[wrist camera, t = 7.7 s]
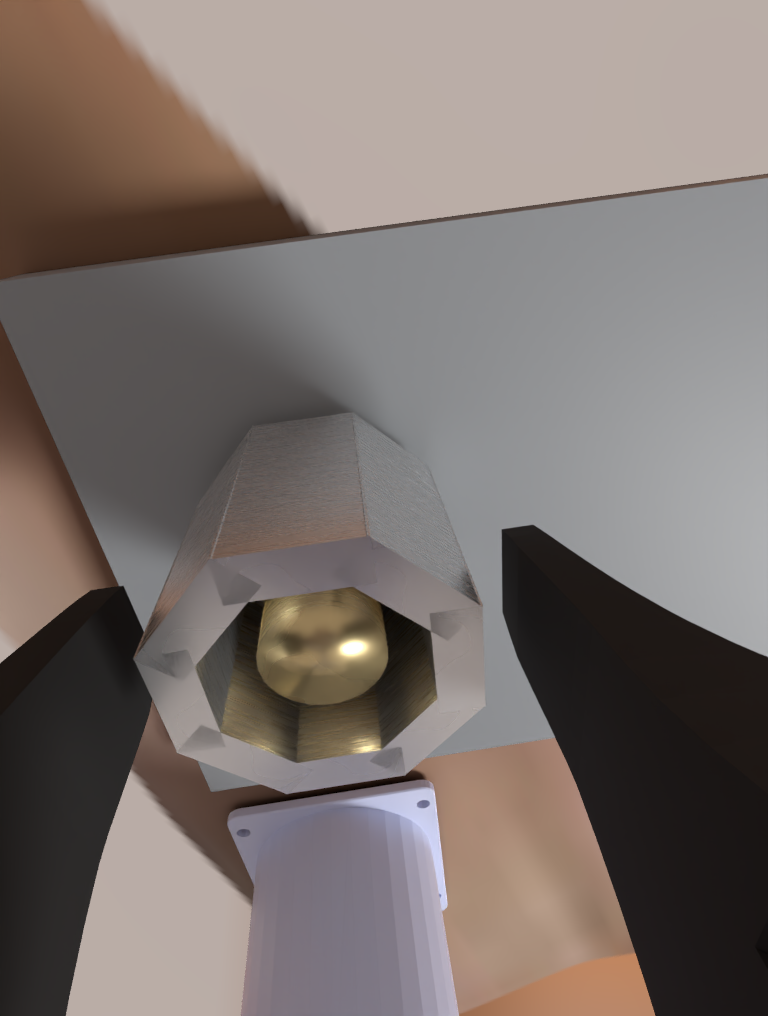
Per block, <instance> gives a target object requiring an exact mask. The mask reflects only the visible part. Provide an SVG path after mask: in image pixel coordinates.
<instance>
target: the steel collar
mask: <svg viewBox="0 0 768 1016" xmlns="http://www.w3.org/2000/svg"><path fill="white" fill-rule="evenodd" d="M347 587H354V588H356V589H358V590H359V591H361V592H363V593H365V594H366V595H368V596H370V597H372V598H373V599H375V600H377V601H379V602H380V603H382V610H383V618H384V625H385V632H386V639H387V646H388V662H387V665H386V668H385V670H384V672H383V674H382V676H381V677H380V679H379V680H378V681H377V682H376V683H375V684H374V685H373V686H372V687H371V688H370V689H369V690H367V691H366V692H364V693H363V694H361V695H359V696H357V697H355V698H352V699H350V700H347V701H344V702H340V703H335V704H327V705H313V704H305V703H300V702H296V701H293V700H290V699H288V698H285V697H283V696H281V695H280V694H278V693H277V692H275V691H274V690H273V689H271V688H270V687H269V686H268V685H267V684H266V683H265V681H264V680H263V678H262V677H261V675H260V673H259V671H258V667H257V663H256V654H257V647H258V640H259V634H260V627H261V620H262V614H263V607H264V601H265V600H266V599H273V598H280V597H287V596H293V595H300V594H307V593H313V592H320V591H327V590H334V589H340V588H347ZM133 660H134V661H135V663H136V665H137V667H138V669H139V671H140V673H141V676H142V678H143V680H144V682H145V684H146V686H147V688H148V691H149V693H150V695H151V697H152V699H153V701H154V703H155V706H156V708H157V710H158V712H159V714H160V716H161V718H162V721H163V723H164V725H165V727H166V729H167V731H168V733H169V736H170V738H171V740H172V742H173V744H174V746H175V748H176V751H177V752H176V753H178V754H181V755H184V756H187V757H189V758H192V759H195V760H197V761H200V762H203V763H205V764H208V765H211V766H213V767H216V768H219V769H222V770H224V771H227V772H230V773H232V774H235V775H238V776H240V777H243V778H246V779H248V780H251V781H254V782H256V783H259V784H262V785H264V786H267V787H270V788H272V789H275V790H278V791H280V792H283V793H285V794H290V793H296V792H303V791H309V790H315V789H322V788H328V787H334V786H341V785H347V784H353V783H360V782H366V781H372V780H379V779H385V778H391V777H398V776H405V775H406V774H407V773H408V772H409V771H410V770H412V769H413V768H414V767H415V766H416V765H417V764H419V763H420V762H421V761H422V760H423V759H424V758H425V757H427V756H428V755H429V754H430V753H431V752H432V751H433V750H435V749H436V748H437V747H438V746H439V745H440V744H442V743H443V742H444V741H445V740H446V739H447V738H448V737H450V736H451V735H452V734H453V733H454V732H455V731H457V730H458V729H459V728H460V727H461V726H462V725H463V724H465V723H466V722H467V721H468V720H469V719H470V718H472V717H473V716H474V715H475V714H476V713H477V712H478V711H480V710H481V709H482V708H483V707H484V706H486V701H485V672H484V639H483V604H482V602H481V599H480V597H479V594H478V592H477V589H476V586H475V584H474V581H473V579H472V576H471V574H470V571H469V568H468V566H467V563H466V561H465V558H464V556H463V553H462V550H461V548H460V545H459V543H458V540H457V537H456V535H455V532H454V530H453V527H452V525H451V522H450V519H449V517H448V514H447V512H446V509H445V507H444V504H443V501H442V499H441V496H440V494H439V491H438V489H437V486H436V483H435V481H434V478H433V476H432V473H431V471H430V468H429V466H428V465H426V464H425V463H424V462H422V461H421V460H419V459H418V458H417V457H415V456H414V455H412V454H411V453H410V452H408V451H407V450H405V449H404V448H403V447H401V446H400V445H398V444H397V443H396V442H394V441H393V440H391V439H390V438H389V437H387V436H386V435H384V434H383V433H382V432H380V431H379V430H377V429H376V428H375V427H373V426H372V425H370V424H369V423H368V422H366V421H365V420H363V419H362V418H361V417H359V416H358V415H356V414H355V413H354V412H352V411H351V412H348V413H341V414H334V415H326V416H319V417H312V418H305V419H298V420H291V421H284V422H277V423H270V424H262V425H255V426H254V425H253V426H251V428H250V430H249V431H248V433H247V434H246V435H245V437H244V438H243V440H242V441H241V443H240V444H239V445H238V447H237V448H236V450H235V451H234V452H233V454H232V455H231V457H230V458H229V459H228V461H227V462H226V464H225V465H224V466H223V468H222V469H221V471H220V472H219V474H218V475H217V476H216V478H215V479H214V481H213V482H212V483H211V485H210V486H209V488H208V489H207V490H206V492H205V493H204V495H203V496H202V497H201V498H200V500H199V502H198V505H197V507H196V510H195V512H194V514H193V517H192V519H191V522H190V524H189V526H188V529H187V531H186V533H185V536H184V538H183V541H182V543H181V545H180V548H179V550H178V553H177V555H176V557H175V560H174V562H173V564H172V567H171V569H170V572H169V574H168V576H167V579H166V581H165V584H164V586H163V588H162V591H161V593H160V595H159V598H158V600H157V603H156V605H155V607H154V610H153V612H152V615H151V617H150V619H149V622H148V624H147V627H146V629H145V631H144V634H143V636H142V638H141V641H140V643H139V646H138V648H137V650H136V653H135V655H134V659H133Z"/></svg>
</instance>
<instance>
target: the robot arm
mask: <svg viewBox="0 0 768 1016" xmlns="http://www.w3.org/2000/svg"><path fill="white" fill-rule="evenodd" d="M502 612H503V615H504V619H505V622H506V625H507V628H508V631H509V634H510V637H511V640H512V643H513V646H514V649H515V652H516V655H517V658H518V660H519V662H520V664H521V667H522V669H523V671H524V673H525V675H526V677H527V679H528V681H529V684H530V686H531V688H532V690H533V692H534V694H535V696H536V698H537V700H538V703H539V705H540V707H541V709H542V711H543V713H544V715H545V717H546V719H547V721H548V723H549V726H550V728H551V730H552V732H553V734H554V736H555V738H556V740H557V742H558V744H559V746H560V749H561V751H562V753H563V755H564V757H565V759H566V761H567V763H568V766H569V768H570V770H571V773H572V775H573V777H574V780H575V782H576V784H577V787H578V789H579V792H580V795H581V798H582V800H583V803H584V806H585V809H586V811H587V814H588V817H589V820H590V822H591V825H592V828H593V830H594V833H595V836H596V839H597V841H598V844H599V847H600V850H601V853H602V856H603V859H604V862H605V864H606V867H607V870H608V873H609V876H610V879H611V882H612V884H613V887H614V890H615V893H616V896H617V899H618V902H619V905H620V908H621V911H622V914H623V917H624V920H625V923H626V926H627V929H628V932H629V935H630V938H631V941H632V944H633V947H634V950H635V953H636V956H637V959H638V962H639V965H640V968H641V971H642V974H643V977H644V980H645V983H646V987H647V990H648V993H649V996H650V999H651V1002H652V1006H653V1009H654V1012H655V1015H656V1016H768V657H767V656H764V655H762V654H759V653H757V652H754V651H752V650H750V649H748V648H745V647H743V646H741V645H738V644H736V643H734V642H732V641H729V640H727V639H725V638H723V637H721V636H719V635H717V634H715V633H713V632H711V631H708V630H706V629H704V628H702V627H700V626H698V625H696V624H694V623H692V622H690V621H688V620H686V619H684V618H682V617H680V616H678V615H676V614H674V613H672V612H670V611H669V610H667V609H665V608H663V607H661V606H660V605H658V604H656V603H654V602H653V601H651V600H649V599H647V598H646V597H644V596H642V595H640V594H639V593H637V592H635V591H633V590H632V589H630V588H628V587H627V586H625V585H624V584H622V583H620V582H619V581H617V580H615V579H614V578H612V577H611V576H609V575H607V574H606V573H604V572H603V571H601V570H600V569H598V568H597V567H595V566H594V565H592V564H591V563H589V562H588V561H586V560H585V559H583V558H582V557H580V556H579V555H577V554H576V553H574V552H573V551H571V550H570V549H568V548H567V547H566V546H564V545H563V544H561V543H560V542H558V541H557V540H555V539H554V538H553V537H551V536H550V535H548V534H547V533H545V532H544V531H542V530H541V529H539V528H538V527H536V526H535V525H527V526H520V527H514V528H507V529H502ZM143 634H144V631H143V629H142V626H141V624H140V622H139V620H138V617H137V615H136V613H135V611H134V608H133V606H132V604H131V601H130V599H129V597H128V595H127V592H126V590H125V588H124V586H117V587H111V588H104V589H97V590H91V591H90V592H88V593H87V594H85V595H84V596H82V597H81V598H80V599H78V600H77V601H76V602H74V603H73V604H72V605H70V606H69V607H68V608H67V609H65V610H64V611H63V612H62V613H60V614H59V615H58V616H57V617H56V618H54V619H53V620H52V621H51V622H49V623H48V624H47V625H46V626H45V627H43V628H42V629H41V630H40V631H39V632H37V633H36V634H35V635H34V636H33V637H31V638H30V639H29V640H28V641H27V642H25V643H24V644H23V645H22V646H21V647H19V648H18V649H17V650H16V651H15V652H13V653H12V654H11V655H10V656H8V657H7V658H6V659H5V660H4V661H3V662H1V663H0V1016H66V1011H67V1006H68V1000H69V995H70V990H71V986H72V980H73V976H74V971H75V967H76V962H77V957H78V953H79V948H80V943H81V939H82V934H83V928H84V925H85V920H86V916H87V912H88V908H89V904H90V899H91V895H92V891H93V887H94V883H95V879H96V875H97V870H98V866H99V862H100V859H101V856H102V852H103V849H104V846H105V843H106V839H107V836H108V833H109V830H110V827H111V824H112V821H113V818H114V816H115V812H116V810H117V807H118V804H119V801H120V798H121V795H122V792H123V790H124V787H125V784H126V781H127V778H128V775H129V772H130V769H131V767H132V764H133V761H134V758H135V755H136V752H137V749H138V746H139V743H140V740H141V737H142V734H143V731H144V728H145V725H146V722H147V719H148V716H149V712H150V707H151V702H152V697H151V695H150V693H149V691H148V688H147V686H146V684H145V682H144V680H143V678H142V676H141V673H140V671H139V669H138V667H137V665H136V663H135V661H134V660H133V659H134V655H135V653H136V650H137V648H138V646H139V643H140V641H141V638H142V636H143ZM227 826H228V828H229V831H230V833H231V835H232V837H233V840H234V842H235V844H236V846H237V849H238V851H239V853H240V855H241V858H242V860H243V862H244V864H245V867H246V869H247V871H248V873H249V876H250V878H251V880H252V882H253V885H254V893H253V903H252V913H251V922H250V932H249V942H248V951H247V961H246V971H245V980H244V991H243V1000H242V1009H241V1016H459V1013H458V1007H457V1001H456V995H455V988H454V982H453V976H452V970H451V964H450V958H449V952H448V946H447V940H446V933H445V927H444V921H443V915H442V911H443V910H445V909H446V907H447V896H446V887H445V878H444V870H443V861H442V852H441V843H440V835H439V826H438V817H437V808H436V800H435V792H434V786H433V784H432V783H431V782H430V781H428V780H415V781H408V782H402V783H396V784H390V785H383V786H377V787H371V788H364V789H358V790H352V791H346V792H339V793H333V794H327V795H321V796H314V797H308V798H302V799H295V800H289V801H283V802H277V803H270V804H264V805H258V806H252V807H245V808H239V809H236V810H234V811H232V812H231V813H230V814H229V816H228V822H227Z"/></svg>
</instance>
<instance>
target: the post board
mask: <svg viewBox="0 0 768 1016" xmlns="http://www.w3.org/2000/svg"><path fill="white" fill-rule="evenodd" d="M0 321H1V323H2V325H3V327H4V330H5V332H6V334H7V336H8V339H9V341H10V343H11V345H12V348H13V350H14V352H15V354H16V357H17V359H18V361H19V363H20V365H21V368H22V370H23V372H24V374H25V377H26V379H27V381H28V383H29V386H30V388H31V390H32V392H33V395H34V397H35V399H36V401H37V404H38V406H39V408H40V410H41V412H42V415H43V417H44V419H45V421H46V424H47V426H48V428H49V430H50V433H51V435H52V437H53V439H54V442H55V444H56V446H57V448H58V450H59V453H60V455H61V457H62V459H63V462H64V464H65V466H66V468H67V471H68V473H69V475H70V477H71V480H72V482H73V484H74V486H75V488H76V491H77V493H78V495H79V497H80V500H81V502H82V504H83V506H84V509H85V511H86V513H87V515H88V518H89V520H90V522H91V524H92V526H93V529H94V531H95V533H96V535H97V538H98V540H99V542H100V544H101V547H102V549H103V551H104V553H105V556H106V558H107V560H108V562H109V564H110V567H111V569H112V571H113V573H114V576H115V578H116V580H117V582H118V585H119V586H124V588H125V590H126V592H127V595H128V597H129V599H130V601H131V604H132V606H133V608H134V611H135V613H136V615H137V617H138V620H139V622H140V624H141V626H142V629H143V631H145V629H146V627H147V624H148V622H149V619H150V617H151V615H152V612H153V610H154V607H155V605H156V603H157V600H158V598H159V595H160V593H161V591H162V588H163V586H164V584H165V581H166V579H167V576H168V574H169V572H170V569H171V567H172V564H173V562H174V560H175V557H176V555H177V553H178V550H179V548H180V545H181V543H182V541H183V538H184V536H185V533H186V531H187V529H188V526H189V524H190V522H191V519H192V517H193V514H194V512H195V510H196V507H197V505H198V502H199V500H200V498H201V497H202V496H203V495H204V493H205V492H206V490H207V489H208V488H209V486H210V485H211V483H212V482H213V481H214V479H215V478H216V476H217V475H218V474H219V472H220V471H221V469H222V468H223V466H224V465H225V464H226V462H227V461H228V459H229V458H230V457H231V455H232V454H233V452H234V451H235V450H236V448H237V447H238V445H239V444H240V443H241V441H242V440H243V438H244V437H245V435H246V434H247V433H248V431H249V430H250V428H251V426H253V425H254V426H255V425H262V424H270V423H277V422H284V421H291V420H298V419H305V418H312V417H319V416H326V415H334V414H341V413H348V412H351V411H352V412H354V413H355V414H356V415H358V416H359V417H361V418H362V419H363V420H365V421H366V422H368V423H369V424H370V425H372V426H373V427H375V428H376V429H377V430H379V431H380V432H382V433H383V434H384V435H386V436H387V437H389V438H390V439H391V440H393V441H394V442H396V443H397V444H398V445H400V446H401V447H403V448H404V449H405V450H407V451H408V452H410V453H411V454H412V455H414V456H415V457H417V458H418V459H419V460H421V461H422V462H424V463H425V464H426V465H428V466H429V468H430V471H431V473H432V476H433V478H434V481H435V483H436V486H437V489H438V491H439V494H440V496H441V499H442V501H443V504H444V507H445V509H446V512H447V514H448V517H449V519H450V522H451V525H452V527H453V530H454V532H455V535H456V537H457V540H458V543H459V545H460V548H461V550H462V553H463V556H464V558H465V561H466V563H467V566H468V568H469V571H470V574H471V576H472V579H473V581H474V584H475V586H476V589H477V592H478V594H479V597H480V599H481V602H482V604H483V639H484V672H485V701H486V706H484V707H483V708H482V709H481V710H480V711H478V712H477V713H476V714H475V715H474V716H473V717H472V718H470V719H469V720H468V721H467V722H466V723H465V724H463V725H462V726H461V727H460V728H459V729H458V730H457V731H455V732H454V733H453V734H452V735H451V736H450V737H448V738H447V739H446V740H445V741H444V742H443V743H442V744H440V745H439V746H438V747H437V748H436V749H435V750H433V751H432V752H431V753H430V754H429V755H428V756H427V757H425V758H430V757H436V756H442V755H449V754H455V753H461V752H468V751H474V750H480V749H487V748H493V747H499V746H505V745H512V744H518V743H524V742H531V741H537V740H543V739H550V738H555V736H554V734H553V732H552V730H551V728H550V726H549V723H548V721H547V719H546V717H545V715H544V713H543V711H542V709H541V707H540V705H539V703H538V700H537V698H536V696H535V694H534V692H533V690H532V688H531V686H530V684H529V681H528V679H527V677H526V675H525V673H524V671H523V669H522V667H521V664H520V662H519V660H518V658H517V655H516V652H515V649H514V646H513V643H512V640H511V637H510V634H509V631H508V628H507V625H506V622H505V619H504V615H503V612H502V529H507V528H514V527H520V526H527V525H535V526H536V527H538V528H539V529H541V530H542V531H544V532H545V533H547V534H548V535H550V536H551V537H553V538H554V539H555V540H557V541H558V542H560V543H561V544H563V545H564V546H566V547H567V548H568V549H570V550H571V551H573V552H574V553H576V554H577V555H579V556H580V557H582V558H583V559H585V560H586V561H588V562H589V563H591V564H592V565H594V566H595V567H597V568H598V569H600V570H601V571H603V572H604V573H606V574H607V575H609V576H611V577H612V578H614V579H615V580H617V581H619V582H620V583H622V584H624V585H625V586H627V587H628V588H630V589H632V590H633V591H635V592H637V593H639V594H640V595H642V596H644V597H646V598H647V599H649V600H651V601H653V602H654V603H656V604H658V605H660V606H661V607H663V608H665V609H667V610H669V611H670V612H672V613H674V614H676V615H678V616H680V617H682V618H684V619H686V620H688V621H690V622H692V623H694V624H696V625H698V626H700V627H702V628H704V629H706V630H708V631H711V632H713V633H715V634H717V635H719V636H721V637H723V638H725V639H727V640H729V641H732V642H734V643H736V644H738V645H741V646H743V647H745V648H748V649H750V650H752V651H754V652H757V653H759V654H762V655H764V656H767V657H768V174H763V175H756V176H749V177H741V178H734V179H727V180H719V181H711V182H704V183H696V184H689V185H681V186H675V187H667V188H659V189H653V190H645V191H637V192H629V193H623V194H615V195H608V196H600V197H592V198H585V199H578V200H571V201H563V202H556V203H548V204H541V205H533V206H526V207H519V208H512V209H504V210H496V211H489V212H482V213H474V214H466V215H459V216H452V217H444V218H437V219H429V220H422V221H414V222H407V223H399V224H392V225H385V226H377V227H370V228H362V229H355V230H347V231H340V232H333V233H325V234H318V235H310V236H303V237H295V238H288V239H281V240H273V241H266V242H258V243H251V244H243V245H236V246H229V247H221V248H214V249H206V250H199V251H191V252H184V253H177V254H169V255H162V256H154V257H147V258H140V259H132V260H125V261H117V262H110V263H102V264H95V265H88V266H80V267H73V268H65V269H58V270H50V271H43V272H36V273H28V274H21V275H17V276H13V277H9V278H5V279H1V280H0ZM387 662H388V646H387V639H386V632H385V625H384V618H383V610H382V603H380V602H379V601H377V600H375V599H373V598H372V597H370V596H368V595H366V594H365V593H363V592H361V591H359V590H358V589H356V588H354V587H347V588H340V589H334V590H327V591H320V592H313V593H307V594H300V595H293V596H287V597H280V598H273V599H266V600H265V601H264V607H263V614H262V620H261V627H260V634H259V640H258V647H257V654H256V663H257V667H258V671H259V673H260V675H261V677H262V678H263V680H264V681H265V683H266V684H267V685H268V686H269V687H270V688H271V689H273V690H274V691H275V692H277V693H278V694H280V695H281V696H283V697H285V698H288V699H290V700H293V701H296V702H300V703H305V704H313V705H327V704H335V703H340V702H344V701H347V700H350V699H352V698H355V697H357V696H359V695H361V694H363V693H364V692H366V691H367V690H369V689H370V688H371V687H372V686H373V685H374V684H375V683H376V682H377V681H378V680H379V679H380V677H381V676H382V674H383V672H384V670H385V668H386V665H387ZM198 763H199V766H200V768H201V770H202V772H203V775H204V777H205V779H206V781H207V784H208V786H209V788H210V790H211V792H215V791H221V790H228V789H234V788H240V787H247V786H253V785H259V783H256V782H254V781H251V780H248V779H246V778H243V777H240V776H238V775H235V774H232V773H230V772H227V771H224V770H222V769H219V768H216V767H213V766H211V765H208V764H205V763H203V762H200V761H198Z"/></svg>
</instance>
